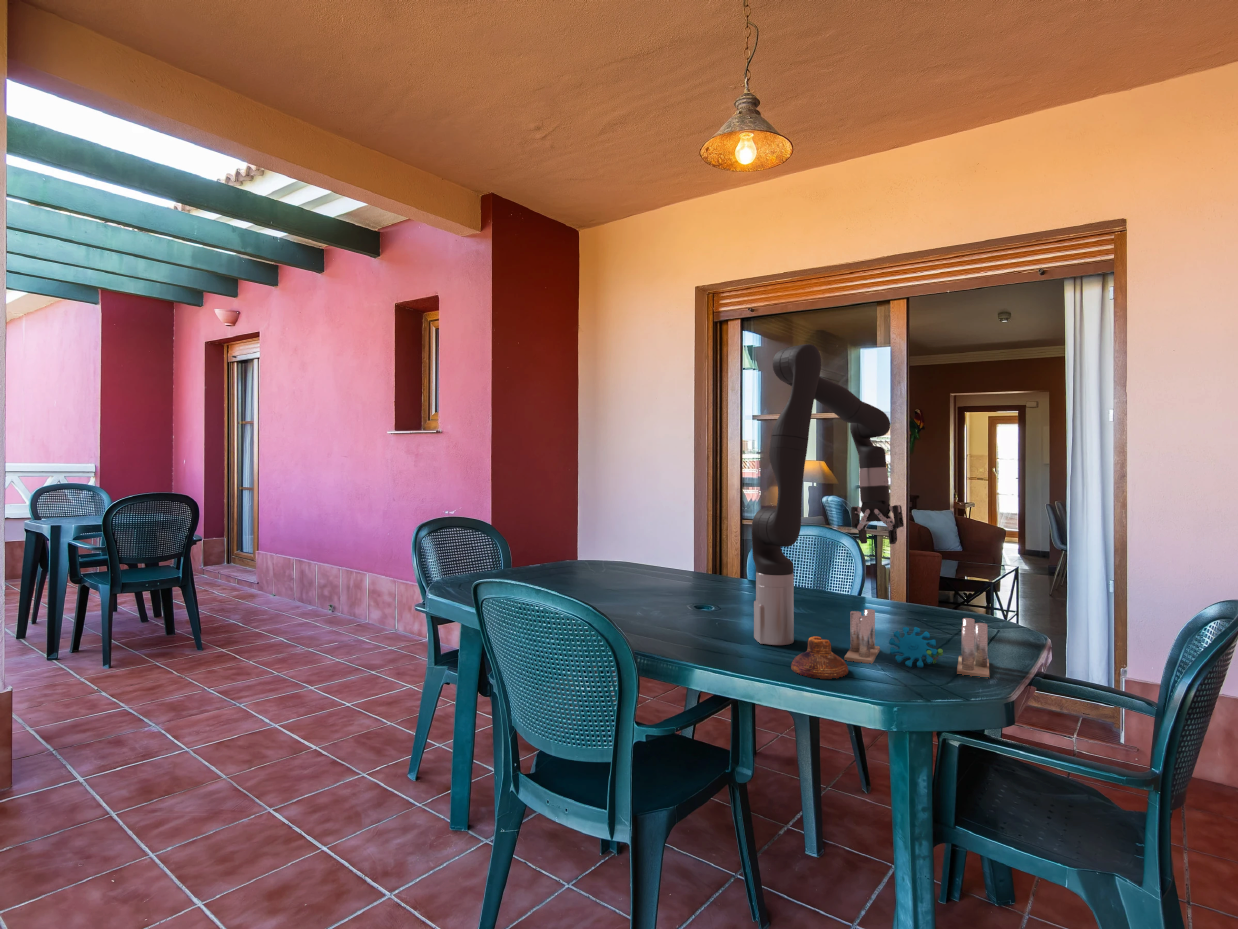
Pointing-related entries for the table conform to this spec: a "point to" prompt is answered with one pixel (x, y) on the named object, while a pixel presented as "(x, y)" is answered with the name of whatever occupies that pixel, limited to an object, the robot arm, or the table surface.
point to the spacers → (971, 638)
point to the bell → (819, 661)
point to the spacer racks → (976, 672)
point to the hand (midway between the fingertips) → (878, 543)
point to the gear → (914, 647)
